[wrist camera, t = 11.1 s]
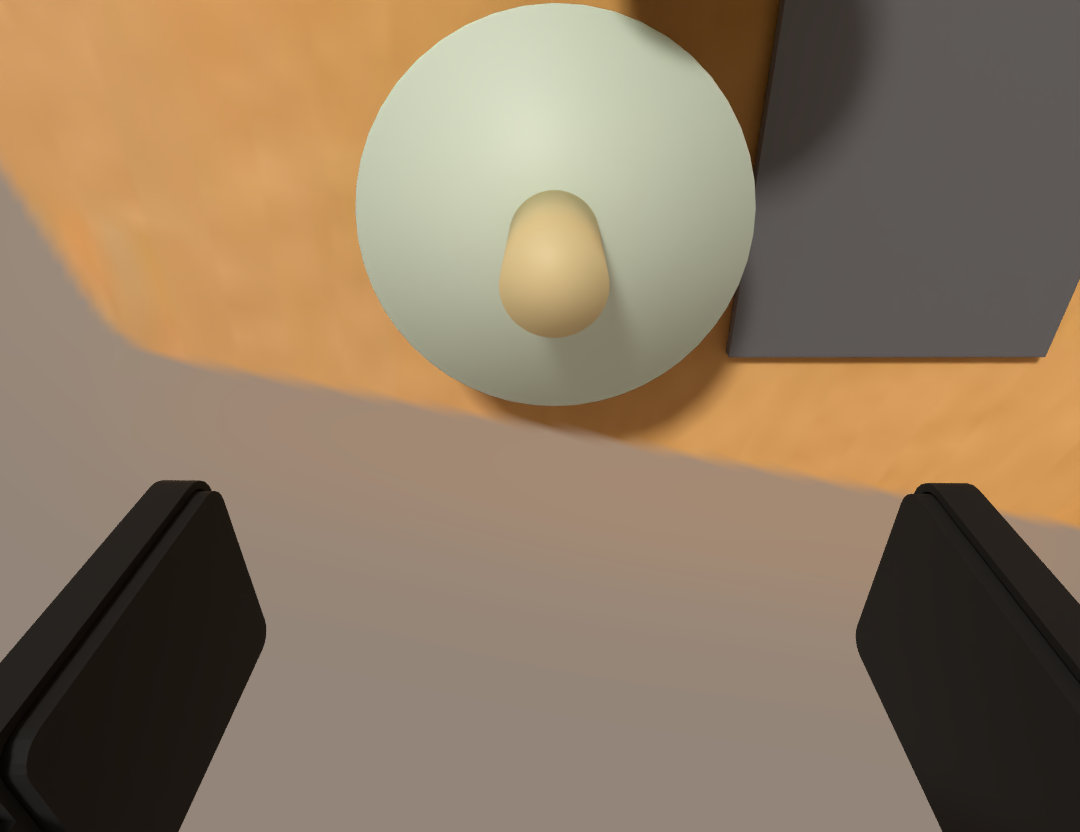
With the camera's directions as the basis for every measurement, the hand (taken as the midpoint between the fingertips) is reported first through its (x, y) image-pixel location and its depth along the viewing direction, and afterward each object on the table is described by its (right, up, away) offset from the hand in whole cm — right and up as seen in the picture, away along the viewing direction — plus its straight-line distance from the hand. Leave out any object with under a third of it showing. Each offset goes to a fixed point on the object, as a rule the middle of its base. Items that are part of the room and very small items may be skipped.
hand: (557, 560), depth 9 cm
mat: (+16, +12, +19) cm, 27 cm away
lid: (0, +9, +15) cm, 17 cm away
